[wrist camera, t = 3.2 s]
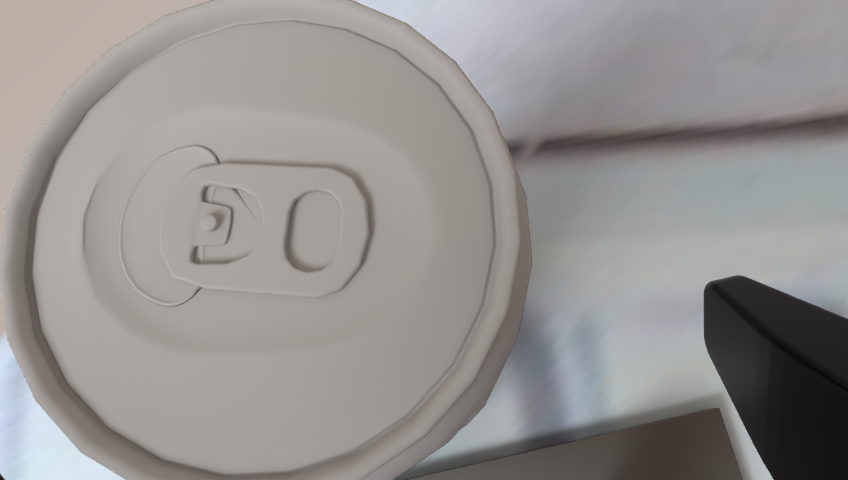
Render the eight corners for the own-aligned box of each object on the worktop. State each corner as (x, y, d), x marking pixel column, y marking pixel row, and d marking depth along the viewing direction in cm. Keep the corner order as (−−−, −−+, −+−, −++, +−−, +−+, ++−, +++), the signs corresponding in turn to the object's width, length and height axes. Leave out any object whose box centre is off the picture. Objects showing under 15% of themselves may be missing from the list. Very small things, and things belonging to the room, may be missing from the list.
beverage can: (322, 252, 18) (45, -32, 7) (505, 264, 18) (552, -19, 6) (298, 441, 17) (-83, 496, 6) (493, 460, 17) (525, 560, 5)
